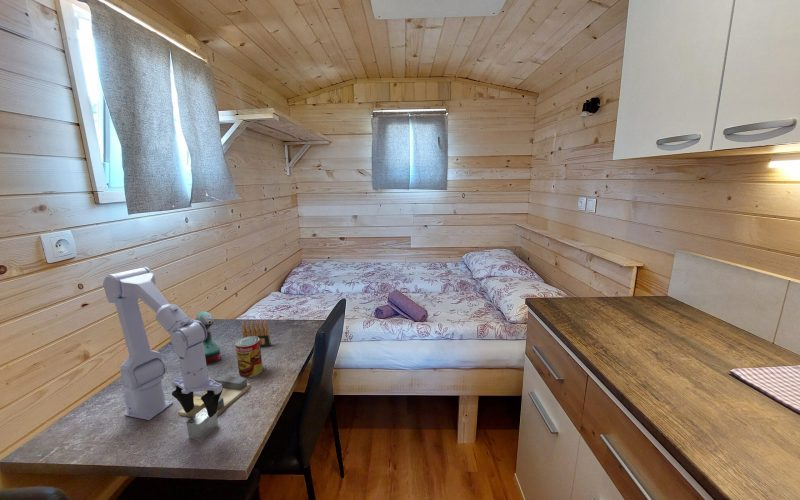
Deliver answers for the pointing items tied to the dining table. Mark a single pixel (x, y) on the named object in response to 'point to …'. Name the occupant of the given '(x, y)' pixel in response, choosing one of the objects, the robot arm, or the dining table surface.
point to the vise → (226, 391)
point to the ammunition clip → (257, 332)
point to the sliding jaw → (202, 404)
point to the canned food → (249, 356)
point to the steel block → (201, 425)
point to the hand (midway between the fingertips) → (201, 412)
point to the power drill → (209, 338)
